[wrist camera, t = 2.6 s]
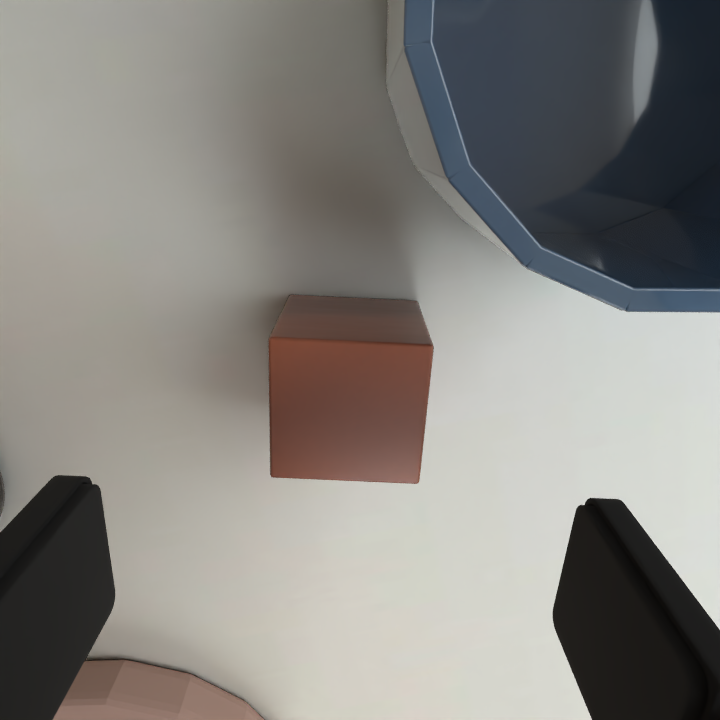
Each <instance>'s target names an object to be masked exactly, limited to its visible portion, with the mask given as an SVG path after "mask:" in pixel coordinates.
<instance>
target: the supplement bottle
mask: <svg viewBox="0 0 720 720" xmlns="http://www.w3.org/2000/svg"><path fill="white" fill-rule="evenodd" d="M4 497H5V493H4V484H3V479H2V476H1V472H0V516H1V513H2V510H3V506H4Z"/></svg>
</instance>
